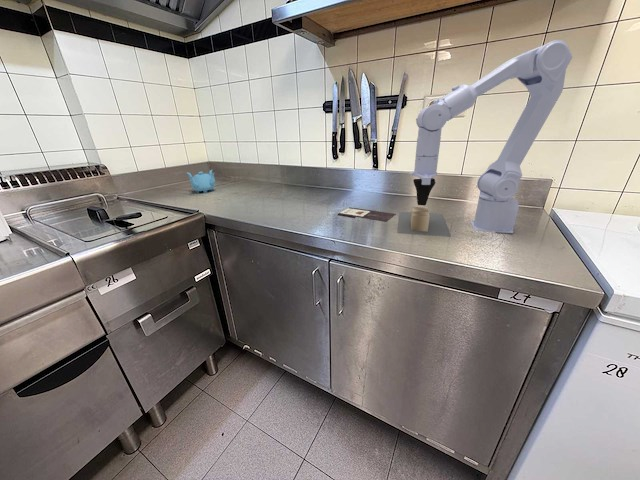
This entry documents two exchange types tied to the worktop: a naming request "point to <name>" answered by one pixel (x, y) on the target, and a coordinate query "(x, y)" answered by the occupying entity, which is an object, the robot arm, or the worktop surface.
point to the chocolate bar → (366, 214)
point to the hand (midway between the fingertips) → (421, 204)
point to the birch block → (419, 219)
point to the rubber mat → (434, 228)
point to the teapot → (202, 181)
